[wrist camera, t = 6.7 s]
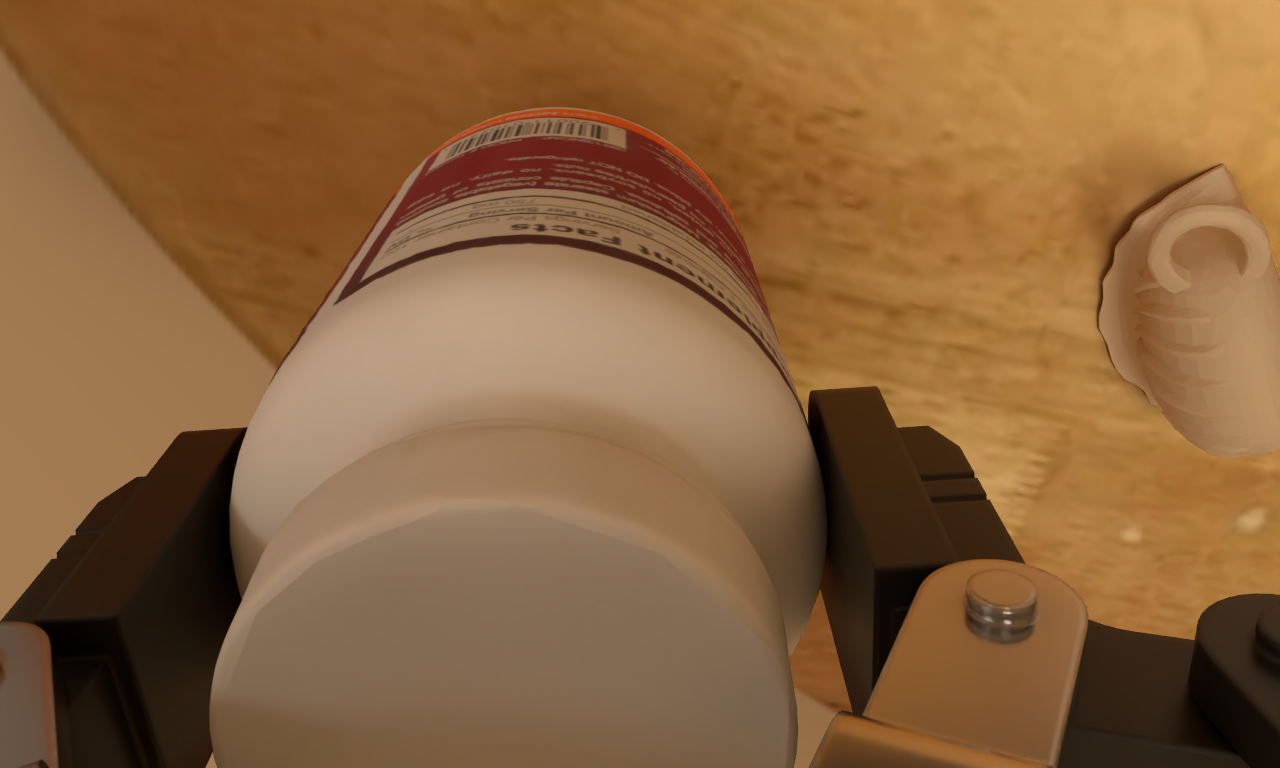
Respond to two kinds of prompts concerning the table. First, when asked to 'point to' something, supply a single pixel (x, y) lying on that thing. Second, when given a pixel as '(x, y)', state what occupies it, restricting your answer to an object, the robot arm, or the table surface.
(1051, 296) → the table surface
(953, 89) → the table surface
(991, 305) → the table surface
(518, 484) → the pill bottle
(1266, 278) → the decorative ornament
